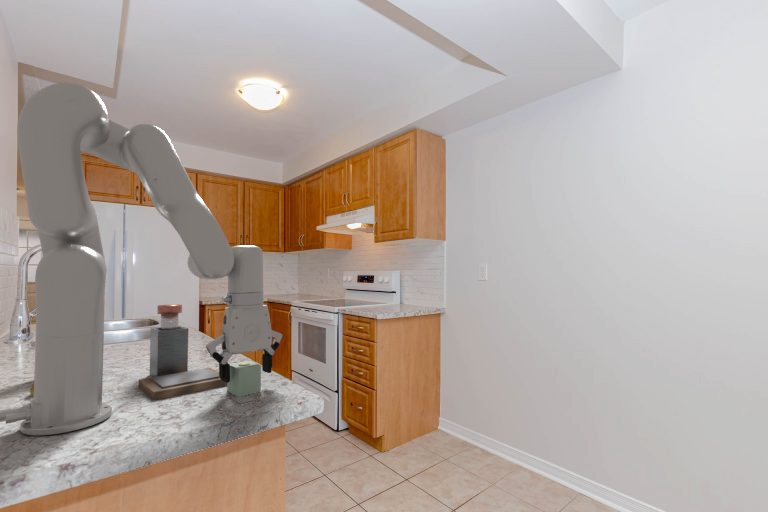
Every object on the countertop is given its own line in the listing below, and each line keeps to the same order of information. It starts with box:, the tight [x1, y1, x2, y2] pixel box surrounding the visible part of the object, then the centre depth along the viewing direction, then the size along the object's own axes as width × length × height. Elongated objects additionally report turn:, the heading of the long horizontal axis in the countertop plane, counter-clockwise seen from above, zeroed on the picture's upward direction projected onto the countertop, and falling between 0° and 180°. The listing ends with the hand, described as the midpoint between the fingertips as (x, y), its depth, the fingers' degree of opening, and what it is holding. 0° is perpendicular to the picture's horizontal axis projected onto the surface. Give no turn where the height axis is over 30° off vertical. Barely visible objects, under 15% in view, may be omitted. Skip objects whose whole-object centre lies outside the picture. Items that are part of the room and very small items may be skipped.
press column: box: [149, 325, 189, 377], centre depth 100 cm, size 7×7×12 cm
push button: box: [157, 303, 183, 331], centre depth 100 cm, size 6×6×9 cm
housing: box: [226, 360, 262, 398], centre depth 86 cm, size 5×6×6 cm
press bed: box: [138, 367, 227, 401], centre depth 90 cm, size 16×13×2 cm
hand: (246, 376), depth 86 cm, fingers open, 9 cm apart
